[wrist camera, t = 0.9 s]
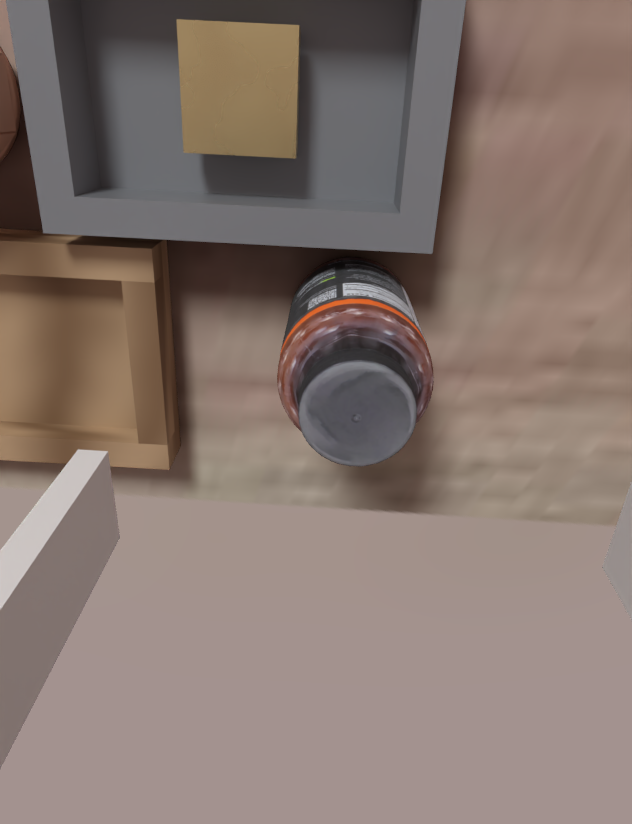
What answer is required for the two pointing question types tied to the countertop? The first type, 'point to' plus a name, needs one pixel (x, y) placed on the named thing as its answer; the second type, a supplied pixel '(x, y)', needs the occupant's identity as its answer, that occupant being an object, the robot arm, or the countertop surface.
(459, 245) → the countertop surface
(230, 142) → the pad
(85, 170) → the tray
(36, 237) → the square wooden tray
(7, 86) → the empty cup
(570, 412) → the countertop surface
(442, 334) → the countertop surface
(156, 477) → the countertop surface
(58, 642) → the robot arm
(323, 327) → the supplement bottle
